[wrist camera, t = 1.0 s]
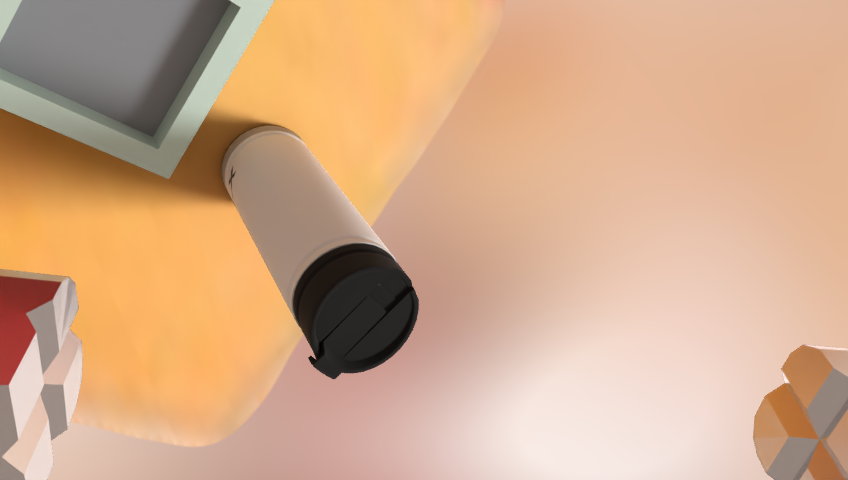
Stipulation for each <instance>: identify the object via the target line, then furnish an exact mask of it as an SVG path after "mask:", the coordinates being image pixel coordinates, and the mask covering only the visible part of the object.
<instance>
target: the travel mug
mask: <svg viewBox="0 0 848 480" xmlns="http://www.w3.org/2000/svg"><path fill="white" fill-rule="evenodd" d="M221 171H222V179H223V182H224V185H225V187H226V189H227V191H228V193H229V195H230V197H231V199H232V201H233V203H234V204H235V206H236V208H237V210H238V212H239V214H240V216H241V218H242V220H243V222H244V223H245V225H246V227H247V229H248V231H249V233H250V235H251V237H252V239H253V241H254V243H255V244H256V246H257V248H258V250H259V252H260V254H261V256H262V258H263V260H264V262H265V263H266V265H267V267H268V269H269V271H270V273H271V275H272V277H273V279H274V281H275V283H276V284H277V286H278V288H279V290H280V292H281V294H282V296H283V298H284V300H285V302H286V303H287V305H288V307H289V309H290V311H291V313H292V314H293V317H294V319H295V320H296V322H297V324H298V325H299V327H300V328H301V329H302V332H303V333H304V335H305V337H306V339H307V341H308V343H309V344H310V346H311V348H312V350H313V352H314V355H315V357H316V359H314V358H313V357H312V356H310V357H309V360H310V362H311V364H312V365H313V366H314V367H315V368H316V369H317V370H319V371H320V372H322V373H323V374H325V375H326V376H328V377H330V378H332V379H335V378H337V376H339V375H340V374H341V373H358V372H364V371H366V370H370V369H372V368H374V367H377V366H378V365H380V364H382V363H384V362H385V361H386V360H388V359H389V358H391V357H392V356H393V355H394V354H395V353H396V352H397V351H398V350H399V349H400V348H401V347H402V346H403V344H404V343H405V342H406V341H407V339H408V337H409V335H410V334H411V332H412V330H413V328H414V325H415V322H416V320H417V315H418V307H419V303H418V302H419V301H418V297H417V295H416V292H415V290H414V288H413V287H412V283H411V280H410V279H409V277H408V276H407V275H406V273H405V272H404V271H403V270H402V268H401V267H400V266H399V264H398V263H397V261H396V259H395V258H394V256H393V255H392V254H391V253H390V251H389V250H388V249H387V248H386V246H385V245H384V244H383V243H382V241H381V240H380V239H379V237H378V236H377V235H376V234H375V232H374V231H373V230H372V228H371V227H370V226H369V225H368V223H367V222H366V221H365V220H364V218H363V217H362V216H361V214H360V213H359V212H358V211H357V209H356V208H355V207H354V206H353V204H352V203H351V202H350V200H349V199H348V198H347V197H346V195H345V194H344V193H343V192H342V190H341V189H340V188H339V186H338V185H337V184H336V183H335V181H334V180H333V179H332V178H331V176H330V175H329V174H328V172H327V171H326V170H325V169H324V167H323V166H322V165H321V164H320V162H319V161H318V160H317V158H316V157H315V156H314V155H313V153H312V152H311V151H310V150H309V148H308V147H307V146H306V144H305V143H304V142H303V141H302V140H301V138H300V137H299V136H298V135H296V134H295V133H294V132H293V131H290V130H288V129H286V128H283V127H279V126H271V125H267V126H260V127H256V128H253V129H250V130H248V131H247V132H245V133H243V134H242V135H240V136H239V137H238V138H237V139H235V140H234V142H233V143H232V144H231V145H230V146H229V148H228V150H227V151H226V153H225V156H224V159H223V162H222V170H221Z"/></svg>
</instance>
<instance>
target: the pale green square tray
mask: <svg viewBox="0 0 848 480" xmlns="http://www.w3.org/2000/svg"><path fill="white" fill-rule="evenodd" d="M273 2H274V0H0V108H1V109H3V110H6V111H8V112H11V113H13V114H15V115H18V116H20V117H22V118H25V119H27V120H29V121H32V122H34V123H37V124H39V125H41V126H44V127H46V128H48V129H51V130H53V131H56V132H58V133H60V134H63V135H65V136H67V137H70V138H72V139H74V140H77V141H79V142H82V143H84V144H86V145H89V146H91V147H93V148H96V149H98V150H100V151H103V152H105V153H108V154H110V155H112V156H115V157H117V158H119V159H122V160H124V161H127V162H129V163H131V164H134V165H136V166H138V167H141V168H143V169H145V170H148V171H150V172H153V173H155V174H157V175H160V176H162V177H164V178H167V179H169V178H170V176H171V175H172V173H173V171H174V169H175V168H176V166H177V164H178V163H179V161H180V159H181V158H182V156H183V154H184V153H185V151H186V149H187V147H188V146H189V144H190V142H191V141H192V139H193V137H194V136H195V134H196V132H197V131H198V129H199V127H200V125H201V124H202V122H203V120H204V119H205V117H206V115H207V114H208V112H209V110H210V109H211V107H212V105H213V103H214V102H215V100H216V98H217V97H218V95H219V93H220V92H221V90H222V88H223V87H224V85H225V83H226V82H227V80H228V78H229V76H230V75H231V73H232V71H233V70H234V68H235V66H236V65H237V63H238V61H239V60H240V58H241V56H242V54H243V53H244V51H245V49H246V48H247V46H248V44H249V43H250V41H251V39H252V38H253V36H254V34H255V32H256V31H257V29H258V27H259V26H260V24H261V22H262V21H263V19H264V17H265V16H266V14H267V12H268V10H269V9H270V7H271V5H272V4H273Z"/></svg>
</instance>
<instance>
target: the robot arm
mask: <svg viewBox="0 0 848 480" xmlns="http://www.w3.org/2000/svg"><path fill="white" fill-rule="evenodd" d="M77 311H78V301H77V293H76V285H75V282H74V281H73V280H72V279H71V278H70V277H66V276H58V275H49V274H40V273H31V272H22V271H13V270H4V269H0V480H47V479H48V477H49V475H50V472H51V470H52V467H53V465H54V462H53V453H52V444H51V440H53V439H54V438H56V437H57V436H58V435H60V434H61V433H63V432H64V431H65V430H67V429H68V427H69V424H70V421H71V419H72V416H73V413H74V411H75V408H76V404H77V400H78V395H79V390H80V385H81V381H82V365H83V355H82V341H81V340H80V339H79V338H78V337H77V336H76V335H75V334H74V333H73V332H72V331H71V330H70V326H71V324H72V322H73V320H74V317H75V315H76V313H77ZM781 370H782V374H783V378H784V382H785V383H784V384H783V385H781V386H780V387H778V388H777V389H775V390H773V391H772V392H770V393H769V394H767V395H766V396H765V397H764V399H763V401H762V403H761V405H760V407H759V409H758V411H757V413H756V415H755V420H754V433H753V434H754V435H753V439H754V444H755V447H756V453H757V456H758V458H759V460H760V462H761V464H762V466H763V468H764V470H765V472H766V473H767V474H768V475H769V476H770V477H772V478H773V479H774V480H848V349H847V348H834V347H823V346H812V345H802V346H800V347H799V348H798V349H796V350H795V351H793V352H792V353H791V354H790V355H789V357H788V359H787V360H786V362H785V364H784V365H783V367H782V369H781Z"/></svg>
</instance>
